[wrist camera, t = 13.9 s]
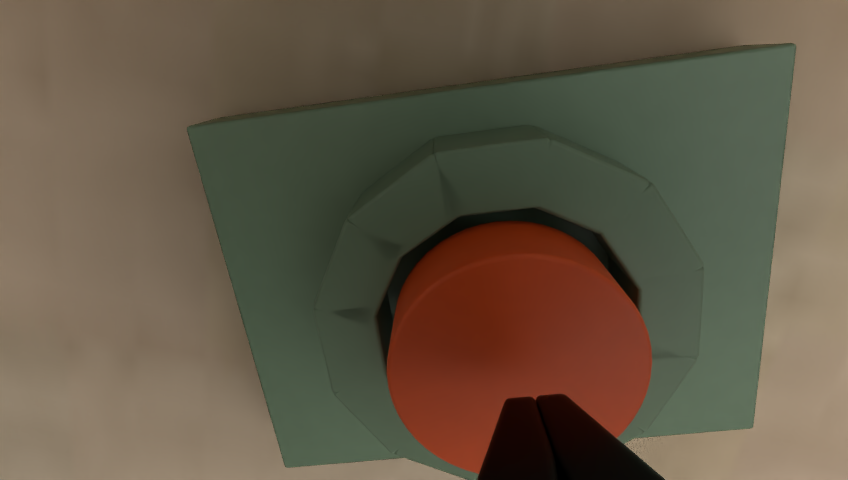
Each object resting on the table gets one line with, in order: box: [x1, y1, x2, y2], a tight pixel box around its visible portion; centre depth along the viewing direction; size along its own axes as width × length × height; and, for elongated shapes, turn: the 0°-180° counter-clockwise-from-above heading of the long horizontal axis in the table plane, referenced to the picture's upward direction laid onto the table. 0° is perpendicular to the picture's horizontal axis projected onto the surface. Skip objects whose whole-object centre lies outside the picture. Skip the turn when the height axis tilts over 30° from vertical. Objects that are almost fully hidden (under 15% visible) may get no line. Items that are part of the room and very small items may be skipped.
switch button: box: [387, 221, 652, 474], centre depth 9 cm, size 4×4×2 cm
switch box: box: [187, 43, 796, 480], centre depth 11 cm, size 12×9×4 cm
